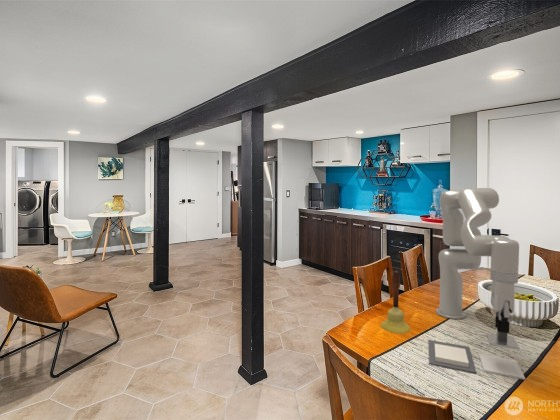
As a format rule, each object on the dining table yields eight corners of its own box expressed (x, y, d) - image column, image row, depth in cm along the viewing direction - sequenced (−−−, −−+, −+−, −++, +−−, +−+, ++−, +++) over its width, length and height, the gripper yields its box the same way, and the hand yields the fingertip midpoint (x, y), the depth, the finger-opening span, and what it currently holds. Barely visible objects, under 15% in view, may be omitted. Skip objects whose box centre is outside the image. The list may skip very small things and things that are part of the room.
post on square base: (485, 335, 111) (486, 308, 110) (513, 339, 108) (514, 311, 107) (490, 345, 104) (490, 316, 103) (519, 350, 100) (520, 320, 100)
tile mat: (428, 340, 125) (428, 339, 125) (469, 348, 119) (469, 346, 119) (429, 364, 108) (429, 362, 108) (476, 373, 102) (476, 372, 102)
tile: (434, 343, 118) (435, 356, 109) (465, 348, 114) (468, 363, 105) (434, 347, 118) (435, 361, 109) (465, 353, 114) (468, 367, 105)
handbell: (381, 331, 133) (381, 274, 131) (380, 319, 145) (380, 266, 143) (412, 335, 130) (413, 276, 128) (408, 322, 142) (409, 268, 140)
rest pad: (478, 355, 114) (478, 353, 114) (515, 361, 109) (515, 360, 109) (484, 371, 104) (484, 369, 104) (525, 379, 99) (525, 377, 99)
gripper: (486, 269, 113) (484, 319, 114) (495, 281, 98) (493, 338, 100) (511, 271, 110) (509, 322, 111) (524, 284, 95) (522, 342, 96)
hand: (502, 329), depth 105 cm, fingers closed on post on square base, 2 cm apart
